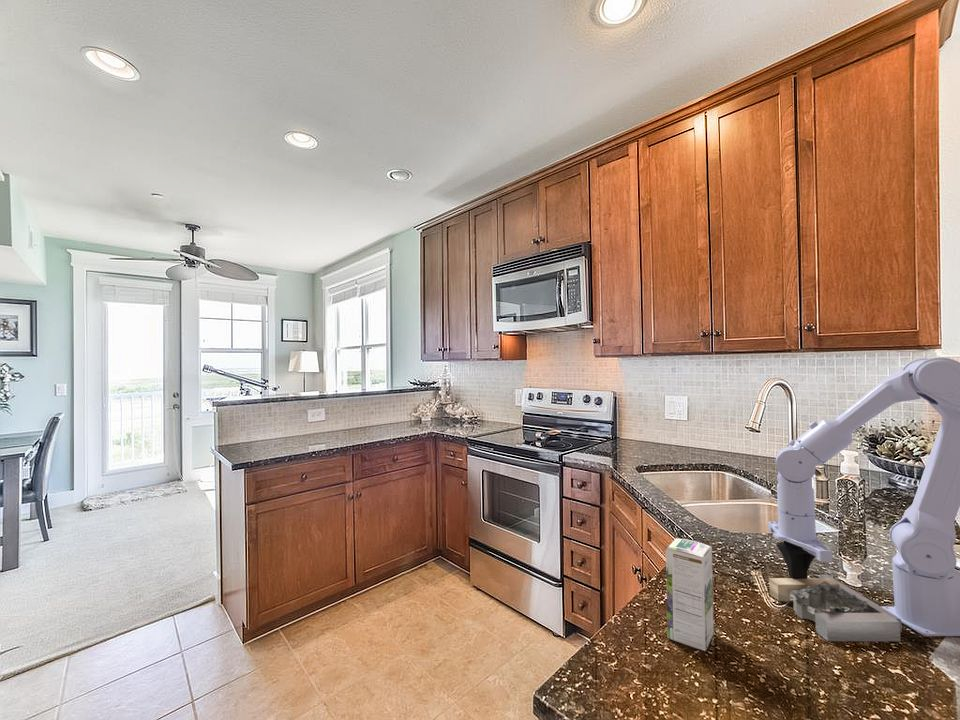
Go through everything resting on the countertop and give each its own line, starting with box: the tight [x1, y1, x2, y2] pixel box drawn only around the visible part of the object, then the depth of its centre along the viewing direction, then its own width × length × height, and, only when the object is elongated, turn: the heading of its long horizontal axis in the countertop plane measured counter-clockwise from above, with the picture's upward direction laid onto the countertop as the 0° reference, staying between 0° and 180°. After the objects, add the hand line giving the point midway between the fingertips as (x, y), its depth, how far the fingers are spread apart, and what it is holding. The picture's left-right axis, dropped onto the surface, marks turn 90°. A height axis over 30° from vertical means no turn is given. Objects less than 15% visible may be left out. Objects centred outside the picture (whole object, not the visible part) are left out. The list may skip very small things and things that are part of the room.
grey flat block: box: [814, 574, 903, 642], centre depth 76 cm, size 14×18×3 cm
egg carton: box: [789, 581, 868, 622], centre depth 74 cm, size 11×8×4 cm
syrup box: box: [665, 537, 715, 652], centre depth 69 cm, size 6×6×14 cm
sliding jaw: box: [768, 577, 840, 602], centre depth 80 cm, size 11×2×3 cm, turn 88°
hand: (798, 583), depth 81 cm, fingers closed, pressing on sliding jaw
